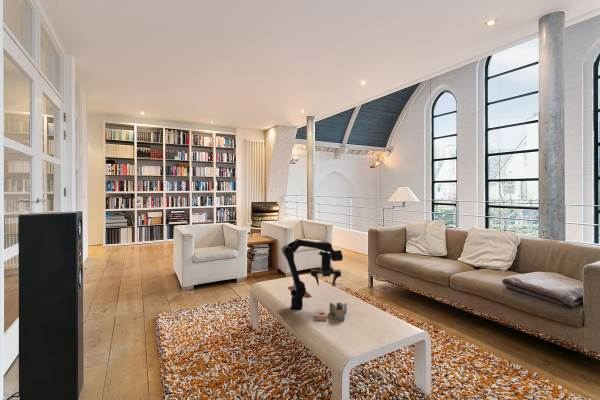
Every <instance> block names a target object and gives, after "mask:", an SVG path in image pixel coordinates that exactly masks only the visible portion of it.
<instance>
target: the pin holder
mask: <svg viewBox="0 0 600 400" xmlns="http://www.w3.org/2000/svg"><path fill="white" fill-rule="evenodd" d="M315 316H316V317H317V318H316V321H326V320H327V321H328V312H327V311H316V315H315Z"/></svg>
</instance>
